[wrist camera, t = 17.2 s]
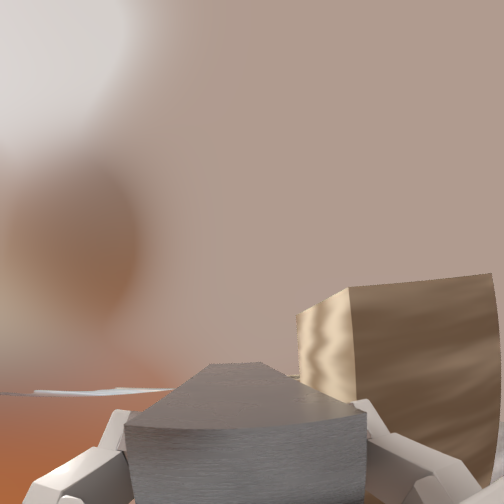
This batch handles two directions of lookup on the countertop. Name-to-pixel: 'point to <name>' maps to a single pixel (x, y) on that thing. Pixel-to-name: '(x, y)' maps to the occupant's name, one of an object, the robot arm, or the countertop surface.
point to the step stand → (414, 361)
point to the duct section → (247, 442)
